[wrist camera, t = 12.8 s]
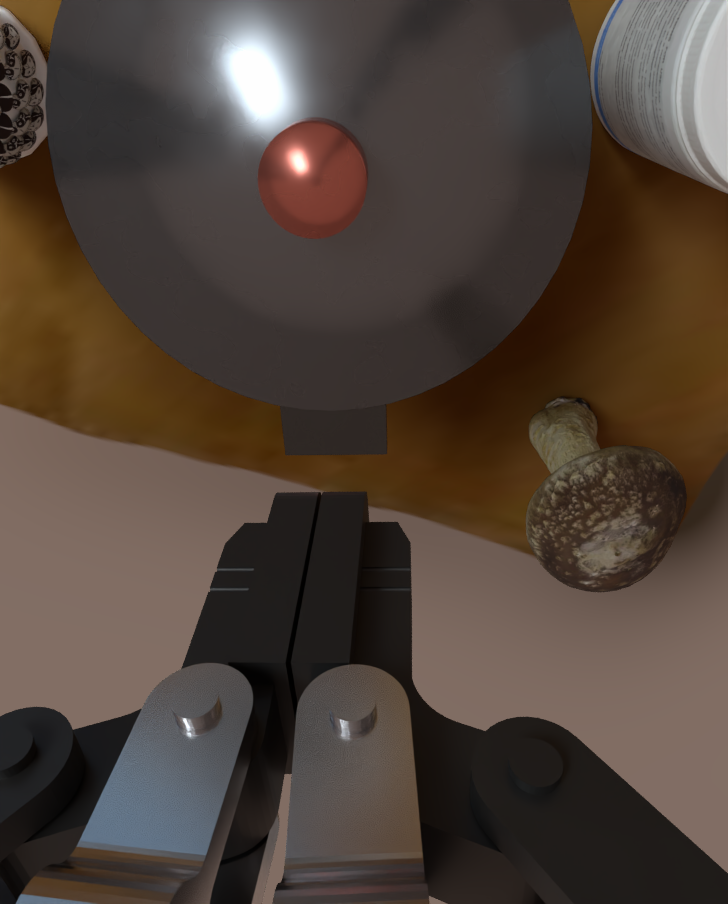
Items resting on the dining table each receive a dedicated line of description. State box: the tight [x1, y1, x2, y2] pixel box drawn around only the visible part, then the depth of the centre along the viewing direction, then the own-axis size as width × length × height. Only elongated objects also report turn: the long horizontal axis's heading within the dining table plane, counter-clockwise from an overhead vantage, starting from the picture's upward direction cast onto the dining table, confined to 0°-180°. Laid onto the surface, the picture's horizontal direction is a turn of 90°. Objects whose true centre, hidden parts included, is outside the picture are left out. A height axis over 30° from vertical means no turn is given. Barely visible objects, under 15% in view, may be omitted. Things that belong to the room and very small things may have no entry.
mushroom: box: [526, 396, 687, 592], centre depth 41 cm, size 9×9×15 cm
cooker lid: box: [45, 0, 592, 455], centre depth 27 cm, size 21×24×3 cm
